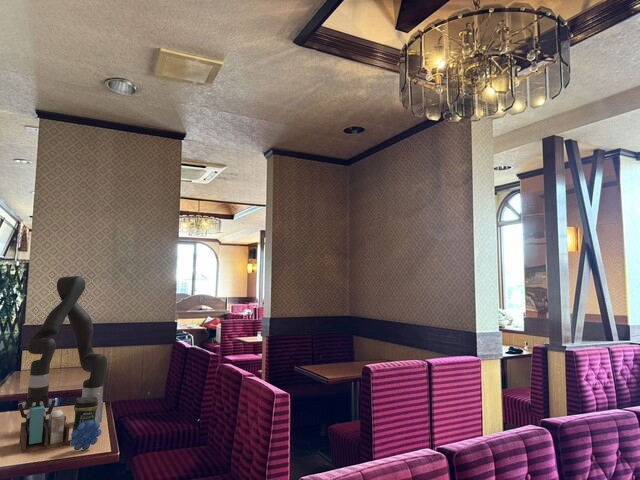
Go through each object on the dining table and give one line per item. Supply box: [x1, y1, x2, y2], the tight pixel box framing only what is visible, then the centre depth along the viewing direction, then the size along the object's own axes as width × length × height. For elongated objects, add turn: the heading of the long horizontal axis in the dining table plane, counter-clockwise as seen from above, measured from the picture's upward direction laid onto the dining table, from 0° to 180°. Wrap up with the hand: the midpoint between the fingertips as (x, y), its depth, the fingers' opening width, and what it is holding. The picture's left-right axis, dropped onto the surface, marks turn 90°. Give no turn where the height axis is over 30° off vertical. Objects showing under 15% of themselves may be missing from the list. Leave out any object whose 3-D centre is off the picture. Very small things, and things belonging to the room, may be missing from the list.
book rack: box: [18, 409, 70, 454], centre depth 192 cm, size 17×14×12 cm
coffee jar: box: [70, 396, 98, 440], centre depth 198 cm, size 10×8×19 cm
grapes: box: [69, 420, 103, 452], centre depth 187 cm, size 12×7×12 cm, turn 119°
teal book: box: [27, 406, 45, 444], centre depth 190 cm, size 4×10×14 cm, turn 37°
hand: (35, 425), depth 190 cm, fingers closed on teal book, 4 cm apart
